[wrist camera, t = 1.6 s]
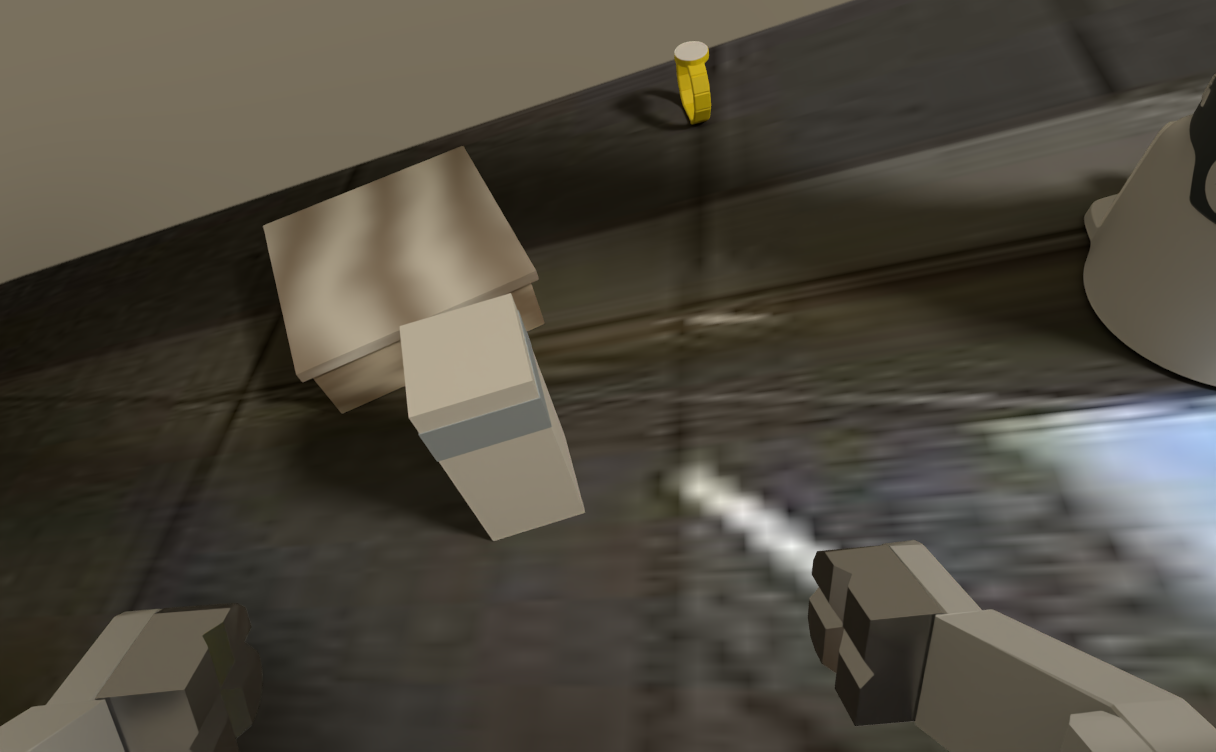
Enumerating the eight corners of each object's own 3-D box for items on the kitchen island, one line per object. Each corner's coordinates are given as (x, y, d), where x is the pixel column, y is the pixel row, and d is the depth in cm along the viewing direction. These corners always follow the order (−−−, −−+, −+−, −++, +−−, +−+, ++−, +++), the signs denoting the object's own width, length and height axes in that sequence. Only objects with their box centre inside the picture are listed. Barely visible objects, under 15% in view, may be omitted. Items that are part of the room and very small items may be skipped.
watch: (719, 130, 61) (719, 68, 56) (688, 138, 61) (685, 77, 56) (700, 89, 64) (698, 27, 59) (670, 97, 64) (665, 35, 59)
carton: (565, 434, 44) (511, 292, 34) (586, 513, 41) (533, 381, 31) (478, 461, 44) (398, 325, 34) (492, 542, 41) (407, 418, 30)
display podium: (483, 200, 59) (463, 145, 55) (554, 325, 50) (536, 270, 45) (299, 276, 57) (263, 225, 53) (336, 422, 48) (296, 374, 43)
